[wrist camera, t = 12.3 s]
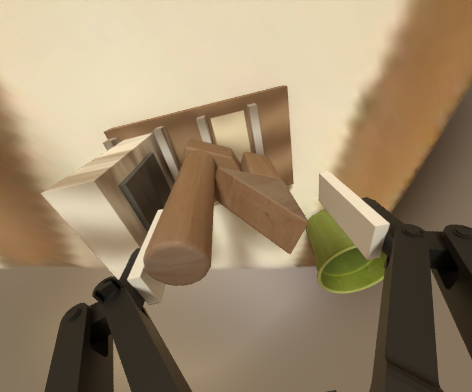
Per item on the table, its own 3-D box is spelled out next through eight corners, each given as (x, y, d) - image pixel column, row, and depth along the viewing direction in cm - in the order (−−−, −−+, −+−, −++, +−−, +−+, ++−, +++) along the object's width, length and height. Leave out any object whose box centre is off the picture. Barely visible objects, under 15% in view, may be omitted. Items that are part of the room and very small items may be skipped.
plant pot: (289, 209, 36) (314, 256, 27) (353, 191, 35) (403, 233, 25) (297, 250, 42) (320, 301, 33) (352, 236, 41) (392, 283, 32)
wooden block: (260, 179, 28) (309, 300, 13) (185, 163, 26) (137, 286, 11) (269, 155, 26) (338, 263, 11) (189, 136, 24) (136, 238, 9)
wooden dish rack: (111, 128, 27) (-4, 181, 13) (282, 85, 25) (356, 94, 12) (155, 208, 34) (111, 296, 20) (289, 178, 33) (339, 249, 19)
